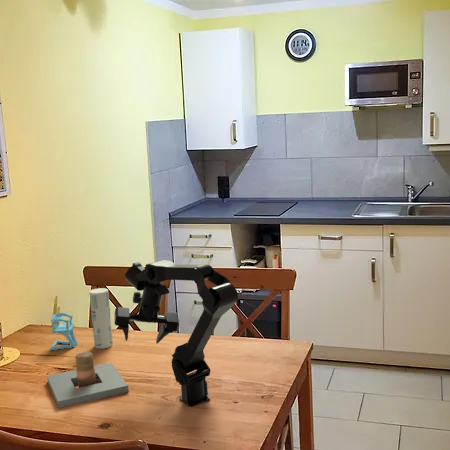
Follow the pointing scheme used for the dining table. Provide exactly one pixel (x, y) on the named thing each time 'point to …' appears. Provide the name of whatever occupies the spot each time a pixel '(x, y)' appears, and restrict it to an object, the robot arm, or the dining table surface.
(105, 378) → the slotted shelf board
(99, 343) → the spray can
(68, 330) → the chair
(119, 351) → the dining table surface
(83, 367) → the lidded jar
